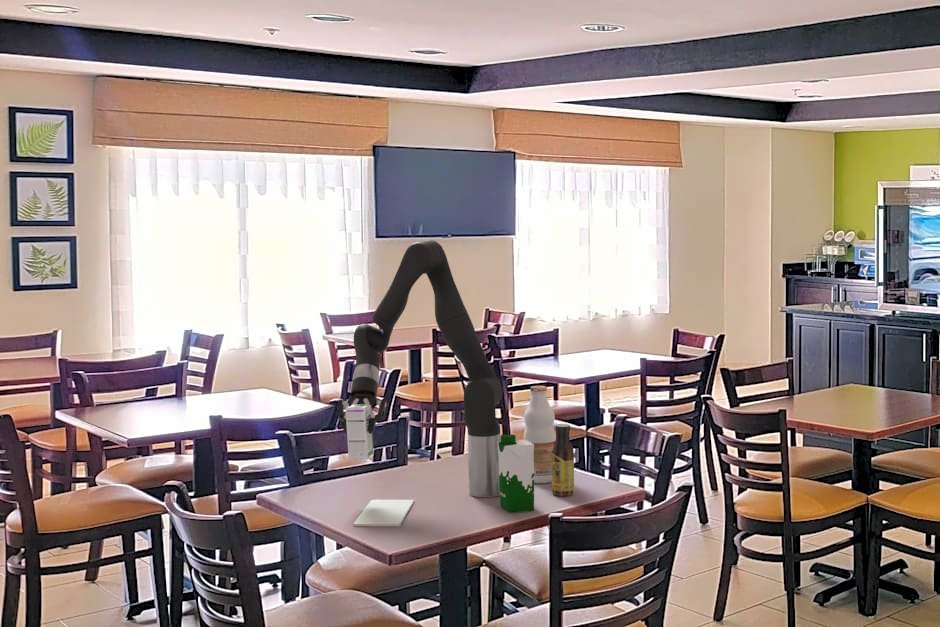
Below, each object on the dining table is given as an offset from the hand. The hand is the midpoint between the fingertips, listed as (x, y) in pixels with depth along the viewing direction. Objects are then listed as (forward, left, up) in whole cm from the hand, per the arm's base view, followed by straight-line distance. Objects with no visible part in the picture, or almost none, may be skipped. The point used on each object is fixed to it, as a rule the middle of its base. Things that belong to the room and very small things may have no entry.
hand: (358, 432), depth 292 cm
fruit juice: (-49, -26, -20) cm, 59 cm away
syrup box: (0, -2, -8) cm, 8 cm away
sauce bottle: (-56, -9, -20) cm, 60 cm away
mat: (-9, +11, -20) cm, 24 cm away
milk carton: (-44, +6, -20) cm, 49 cm away
